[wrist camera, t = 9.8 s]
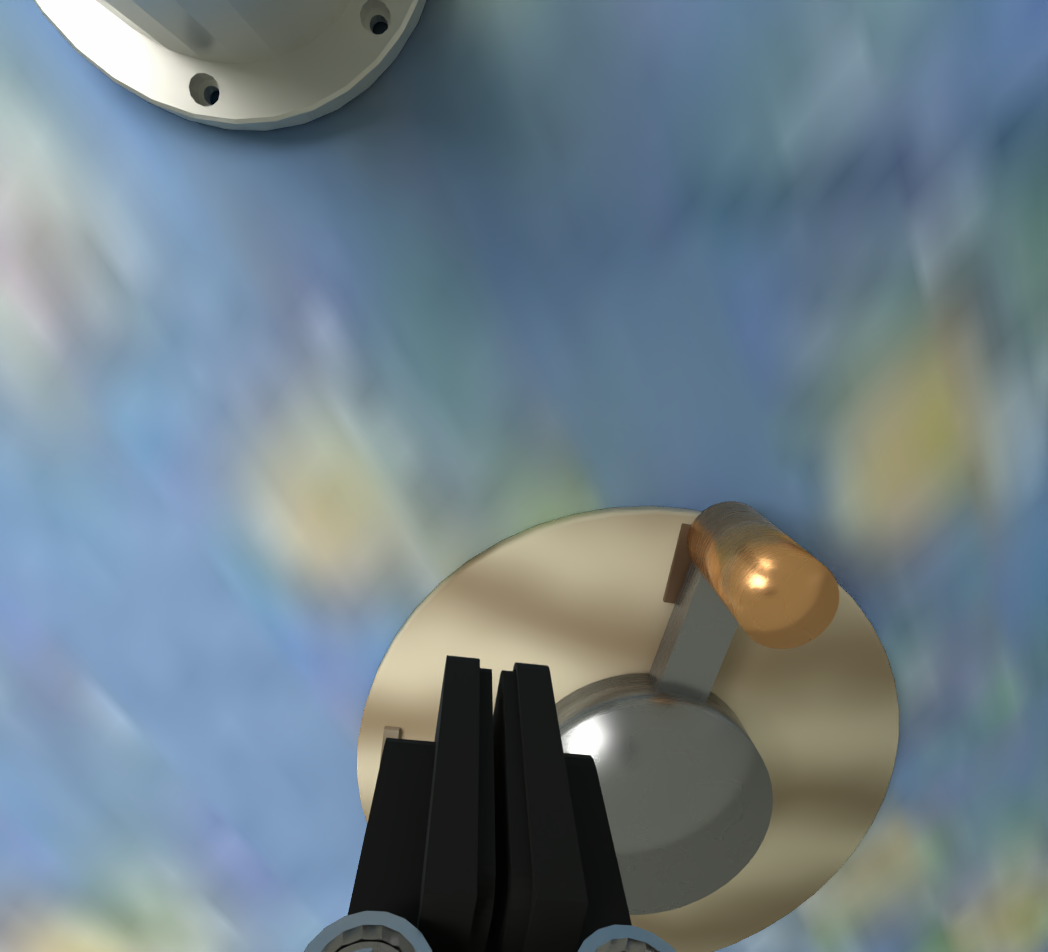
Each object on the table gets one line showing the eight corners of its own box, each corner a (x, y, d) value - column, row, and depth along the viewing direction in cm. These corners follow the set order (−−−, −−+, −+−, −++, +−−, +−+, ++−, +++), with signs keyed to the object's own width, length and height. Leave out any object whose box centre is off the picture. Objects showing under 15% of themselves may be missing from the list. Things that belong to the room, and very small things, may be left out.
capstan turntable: (703, 887, 27) (748, 1013, 23) (487, 849, 26) (486, 973, 21) (863, 534, 23) (961, 596, 18) (611, 468, 22) (644, 516, 17)
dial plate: (391, 465, 23) (386, 474, 22) (960, 548, 25) (982, 560, 24) (340, 929, 29) (333, 956, 28) (799, 965, 31) (811, 991, 30)
